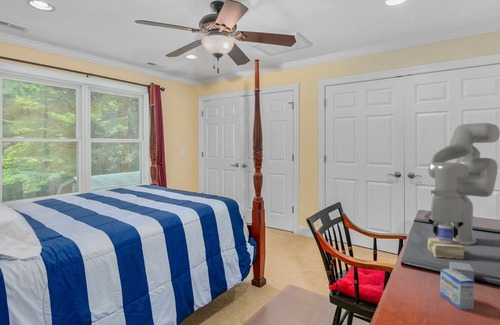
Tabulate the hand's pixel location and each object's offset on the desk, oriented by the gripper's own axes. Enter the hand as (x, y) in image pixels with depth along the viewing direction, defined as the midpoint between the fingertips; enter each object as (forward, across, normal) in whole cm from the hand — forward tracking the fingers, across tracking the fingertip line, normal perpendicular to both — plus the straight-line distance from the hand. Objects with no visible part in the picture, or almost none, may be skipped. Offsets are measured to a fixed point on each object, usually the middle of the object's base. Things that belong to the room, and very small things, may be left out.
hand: (445, 235), depth 119 cm
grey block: (+8, +4, -21) cm, 23 cm away
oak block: (+8, 0, 0) cm, 8 cm away
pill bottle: (+3, 0, 0) cm, 3 cm away
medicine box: (+8, 0, -40) cm, 41 cm away
